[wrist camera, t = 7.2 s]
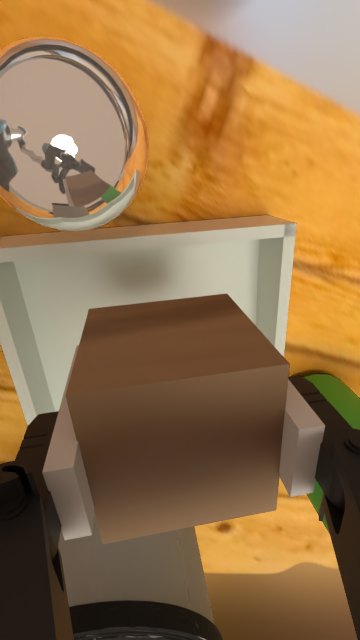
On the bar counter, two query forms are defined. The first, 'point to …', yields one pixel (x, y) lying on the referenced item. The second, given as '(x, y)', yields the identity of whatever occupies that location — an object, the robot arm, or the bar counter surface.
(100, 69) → the light bulb
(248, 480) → the walnut block
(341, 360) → the bar counter surface
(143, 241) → the tray
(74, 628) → the container
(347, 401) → the bottle
